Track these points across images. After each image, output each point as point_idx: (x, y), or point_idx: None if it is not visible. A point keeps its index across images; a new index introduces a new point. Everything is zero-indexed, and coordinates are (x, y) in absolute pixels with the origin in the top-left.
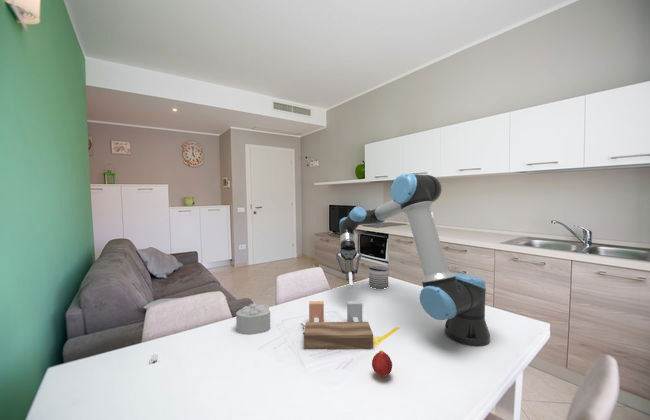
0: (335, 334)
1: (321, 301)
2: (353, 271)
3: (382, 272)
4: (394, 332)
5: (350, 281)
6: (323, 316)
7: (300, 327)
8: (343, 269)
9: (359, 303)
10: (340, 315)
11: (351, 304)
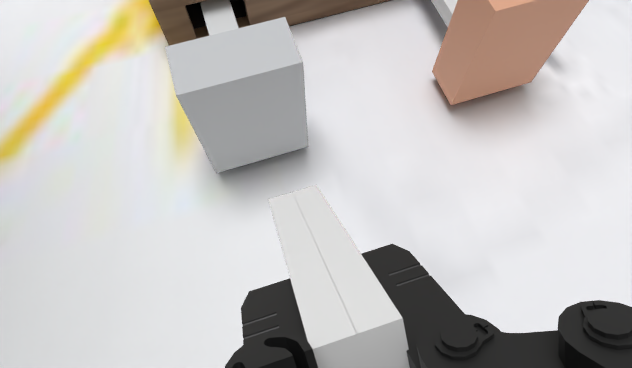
0: None
1: (509, 3)
2: (253, 346)
3: None
4: (27, 107)
5: (311, 212)
6: (443, 42)
7: None
8: (616, 319)
9: (190, 45)
10: (375, 223)
11: (257, 29)
